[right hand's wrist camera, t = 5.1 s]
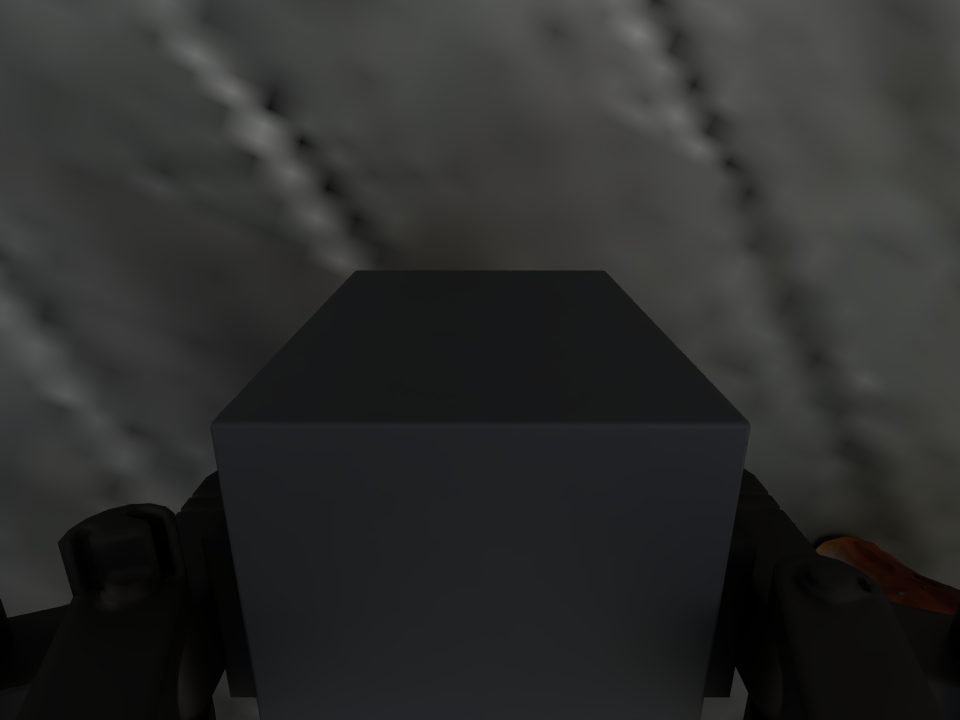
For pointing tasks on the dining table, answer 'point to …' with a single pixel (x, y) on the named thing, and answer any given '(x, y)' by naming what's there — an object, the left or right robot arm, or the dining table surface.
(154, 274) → the dining table surface
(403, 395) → the bar
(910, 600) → the figurine
